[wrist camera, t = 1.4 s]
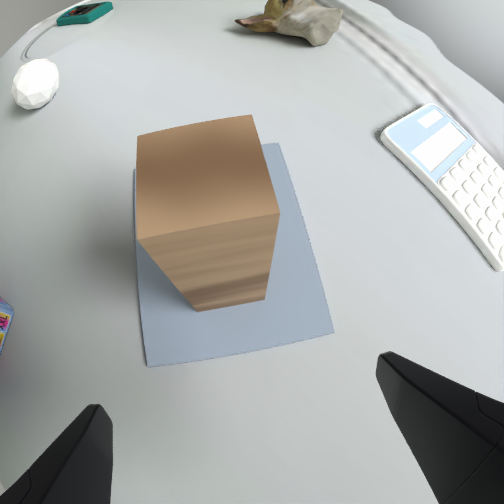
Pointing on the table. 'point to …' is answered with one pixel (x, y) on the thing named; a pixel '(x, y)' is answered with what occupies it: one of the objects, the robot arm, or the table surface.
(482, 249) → the calculator
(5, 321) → the ink cartridge box
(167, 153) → the walnut block
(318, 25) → the ceramic sculpture
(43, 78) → the geometric ball
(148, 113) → the table surface
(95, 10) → the digital multimeter
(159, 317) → the desk pad
